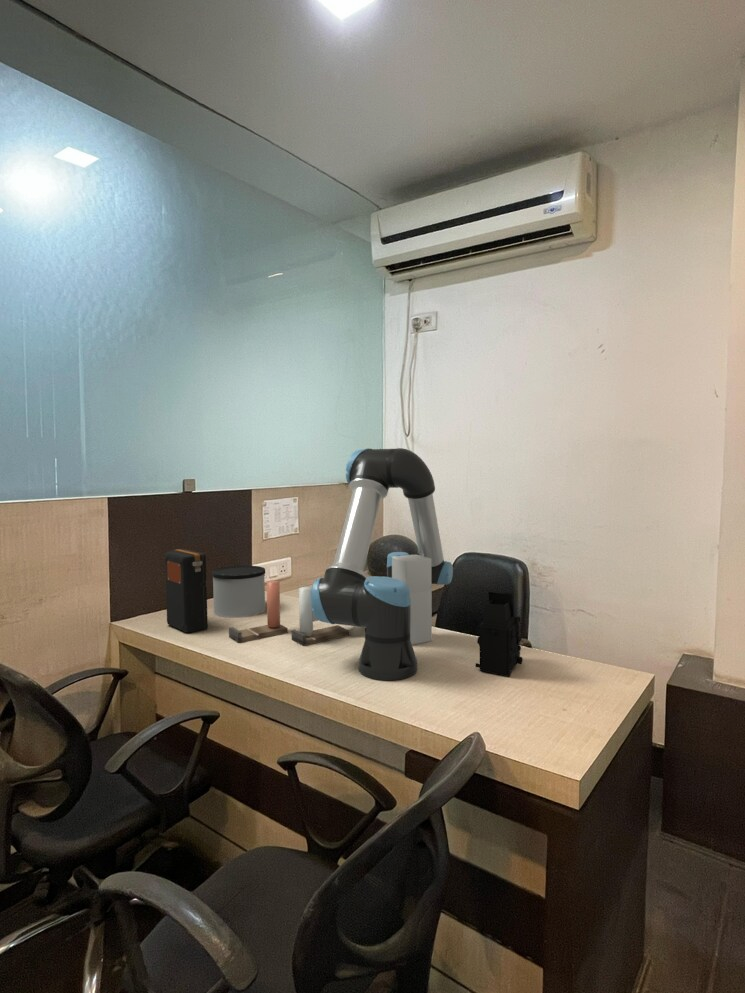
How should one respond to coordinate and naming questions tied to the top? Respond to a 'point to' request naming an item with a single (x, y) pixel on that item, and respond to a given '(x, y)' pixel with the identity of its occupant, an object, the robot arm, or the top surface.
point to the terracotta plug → (273, 603)
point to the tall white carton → (416, 593)
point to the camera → (499, 635)
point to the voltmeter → (186, 590)
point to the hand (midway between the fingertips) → (312, 616)
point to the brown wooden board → (319, 635)
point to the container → (238, 591)
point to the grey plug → (305, 611)
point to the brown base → (255, 633)
